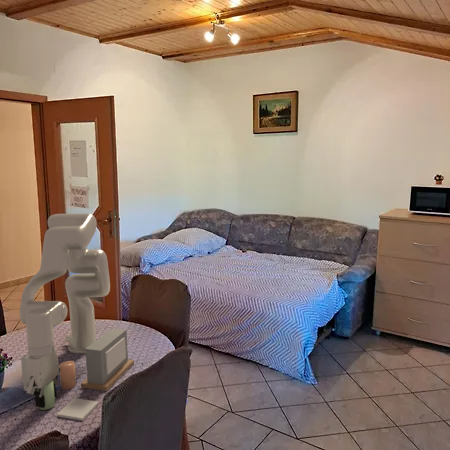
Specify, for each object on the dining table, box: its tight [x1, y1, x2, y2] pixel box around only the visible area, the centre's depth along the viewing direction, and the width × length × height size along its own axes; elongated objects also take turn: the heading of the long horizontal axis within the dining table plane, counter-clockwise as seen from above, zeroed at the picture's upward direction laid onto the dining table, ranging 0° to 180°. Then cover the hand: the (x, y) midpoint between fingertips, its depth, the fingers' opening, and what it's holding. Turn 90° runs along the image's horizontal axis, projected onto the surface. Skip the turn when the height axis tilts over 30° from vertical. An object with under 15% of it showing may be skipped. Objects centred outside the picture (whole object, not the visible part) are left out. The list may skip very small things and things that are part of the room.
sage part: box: [37, 379, 56, 411], centre depth 135 cm, size 5×5×8 cm
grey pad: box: [56, 397, 100, 422], centre depth 134 cm, size 9×9×1 cm
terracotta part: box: [58, 360, 77, 390], centre depth 148 cm, size 5×5×8 cm
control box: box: [80, 327, 135, 392], centre depth 154 cm, size 10×20×14 cm, turn 165°
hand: (46, 401), depth 136 cm, fingers closed on sage part, 5 cm apart
